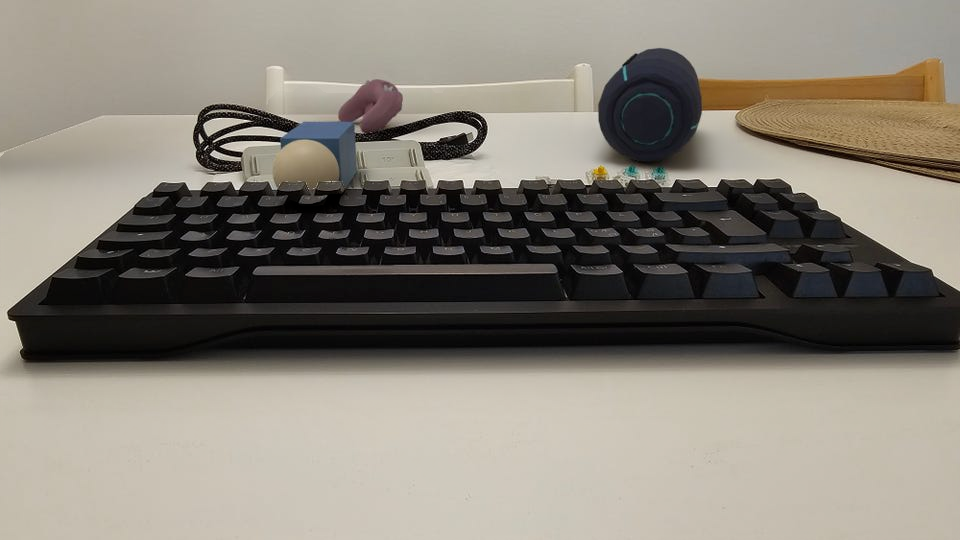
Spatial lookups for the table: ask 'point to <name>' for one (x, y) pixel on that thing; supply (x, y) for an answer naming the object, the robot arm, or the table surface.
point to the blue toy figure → (317, 154)
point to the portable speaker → (651, 105)
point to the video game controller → (372, 105)
